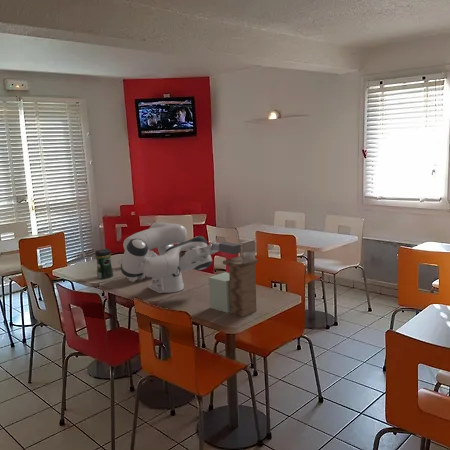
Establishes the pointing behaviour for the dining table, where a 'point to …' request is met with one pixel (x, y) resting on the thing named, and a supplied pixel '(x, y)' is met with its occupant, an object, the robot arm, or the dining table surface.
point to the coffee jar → (103, 263)
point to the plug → (226, 247)
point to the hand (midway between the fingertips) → (214, 244)
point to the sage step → (220, 292)
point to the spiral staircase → (149, 254)
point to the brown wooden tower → (243, 280)
